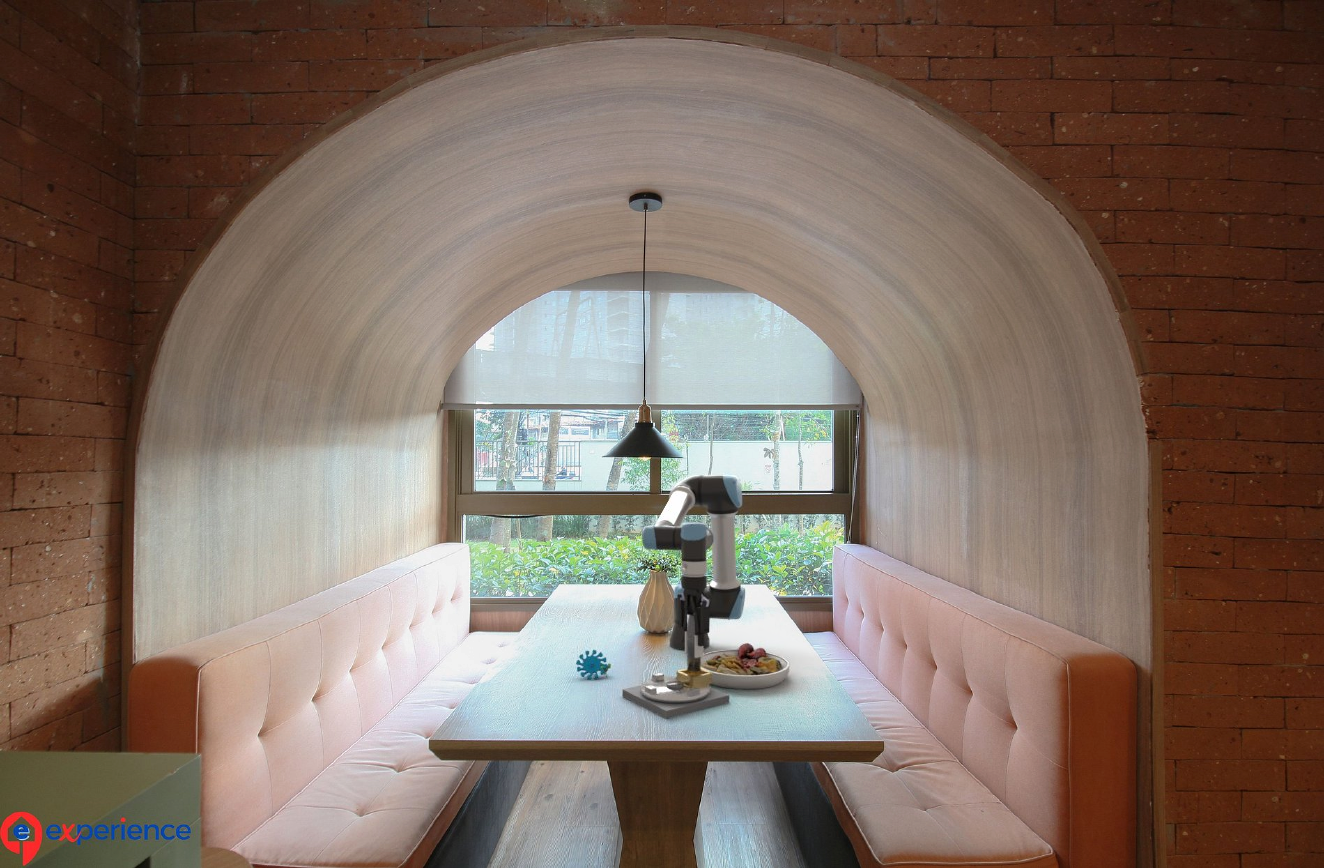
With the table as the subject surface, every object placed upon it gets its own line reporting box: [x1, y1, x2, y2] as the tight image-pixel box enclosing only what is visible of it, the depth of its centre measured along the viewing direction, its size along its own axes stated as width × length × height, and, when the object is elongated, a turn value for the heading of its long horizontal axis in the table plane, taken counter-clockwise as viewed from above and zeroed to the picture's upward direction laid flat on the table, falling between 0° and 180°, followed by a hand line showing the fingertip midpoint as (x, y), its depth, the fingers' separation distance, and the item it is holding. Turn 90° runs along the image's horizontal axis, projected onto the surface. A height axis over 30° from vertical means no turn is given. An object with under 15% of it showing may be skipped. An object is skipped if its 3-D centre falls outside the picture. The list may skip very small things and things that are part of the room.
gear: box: [575, 649, 612, 681], centre depth 219 cm, size 11×6×10 cm
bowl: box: [701, 642, 790, 690], centre depth 217 cm, size 30×30×8 cm
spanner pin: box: [686, 613, 701, 672], centre depth 200 cm, size 4×4×16 cm
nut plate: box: [621, 684, 730, 720], centre depth 196 cm, size 22×22×2 cm
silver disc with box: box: [640, 668, 713, 703], centre depth 196 cm, size 21×20×4 cm
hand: (694, 655), depth 200 cm, fingers closed on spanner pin, 4 cm apart
